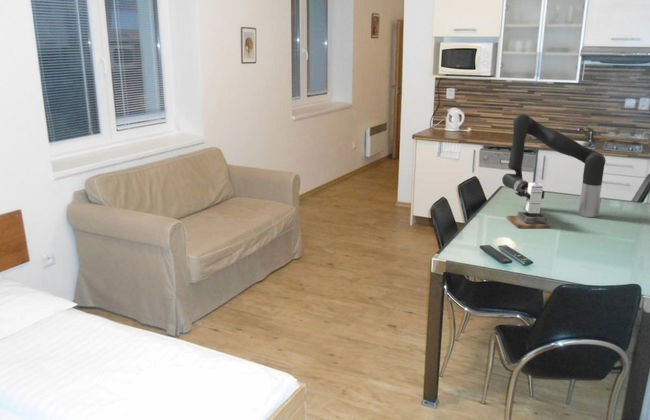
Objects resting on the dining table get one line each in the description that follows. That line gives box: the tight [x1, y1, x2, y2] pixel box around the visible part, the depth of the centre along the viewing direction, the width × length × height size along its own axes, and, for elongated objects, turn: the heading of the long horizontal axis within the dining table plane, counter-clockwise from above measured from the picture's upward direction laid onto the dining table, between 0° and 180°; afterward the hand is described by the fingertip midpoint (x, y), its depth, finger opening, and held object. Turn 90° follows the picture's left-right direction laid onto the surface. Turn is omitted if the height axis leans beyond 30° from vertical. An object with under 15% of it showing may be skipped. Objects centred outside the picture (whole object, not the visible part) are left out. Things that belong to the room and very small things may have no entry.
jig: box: [506, 211, 551, 229], centre depth 291 cm, size 16×16×4 cm
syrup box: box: [524, 182, 544, 213], centre depth 289 cm, size 6×6×14 cm
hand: (536, 196), depth 286 cm, fingers closed on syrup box, 6 cm apart
